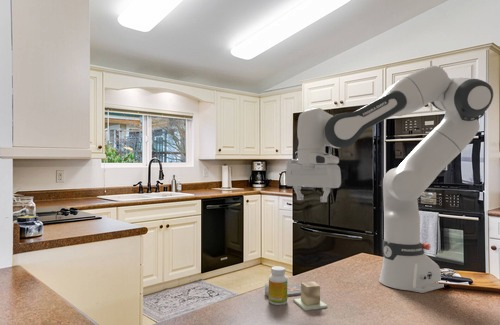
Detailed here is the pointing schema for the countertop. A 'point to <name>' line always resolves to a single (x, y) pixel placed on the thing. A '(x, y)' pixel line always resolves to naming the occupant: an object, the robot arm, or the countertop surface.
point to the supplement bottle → (278, 286)
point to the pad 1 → (293, 290)
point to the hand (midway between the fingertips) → (311, 201)
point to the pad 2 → (309, 307)
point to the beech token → (310, 293)
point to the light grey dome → (267, 289)
